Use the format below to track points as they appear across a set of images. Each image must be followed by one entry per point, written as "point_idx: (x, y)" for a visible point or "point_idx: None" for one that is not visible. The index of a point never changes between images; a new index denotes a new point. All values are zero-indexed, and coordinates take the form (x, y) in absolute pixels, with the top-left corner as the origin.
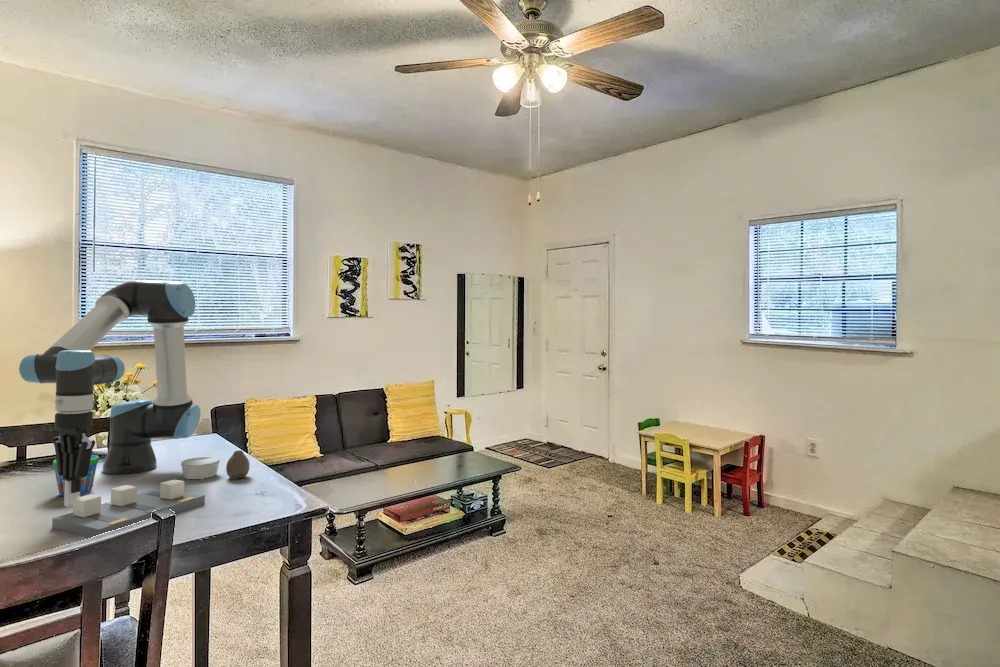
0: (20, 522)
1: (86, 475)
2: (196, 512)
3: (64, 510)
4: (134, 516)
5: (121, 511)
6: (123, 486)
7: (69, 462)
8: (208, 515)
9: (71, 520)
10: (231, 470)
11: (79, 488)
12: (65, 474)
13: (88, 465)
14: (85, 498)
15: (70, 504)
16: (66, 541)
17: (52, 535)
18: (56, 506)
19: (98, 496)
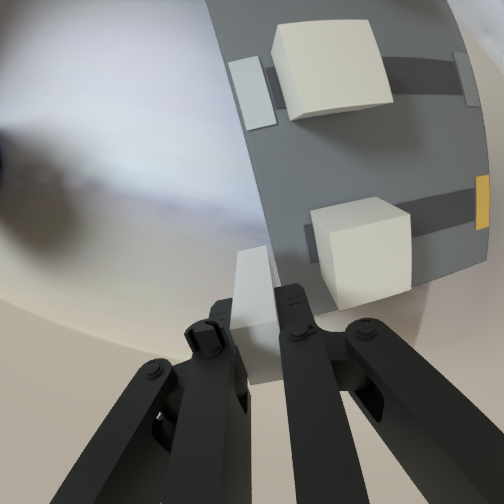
0: (158, 336)
1: (380, 327)
2: (455, 2)
3: (110, 226)
4: (479, 149)
5: (413, 140)
6: (304, 48)
7: (244, 478)
8: (487, 15)
9: None
10: None
11: (304, 296)
12: (249, 411)
13: (440, 381)
14: (382, 274)
15: (275, 284)
16: (421, 300)
17: (353, 314)
18: (58, 232)
19: (402, 223)
